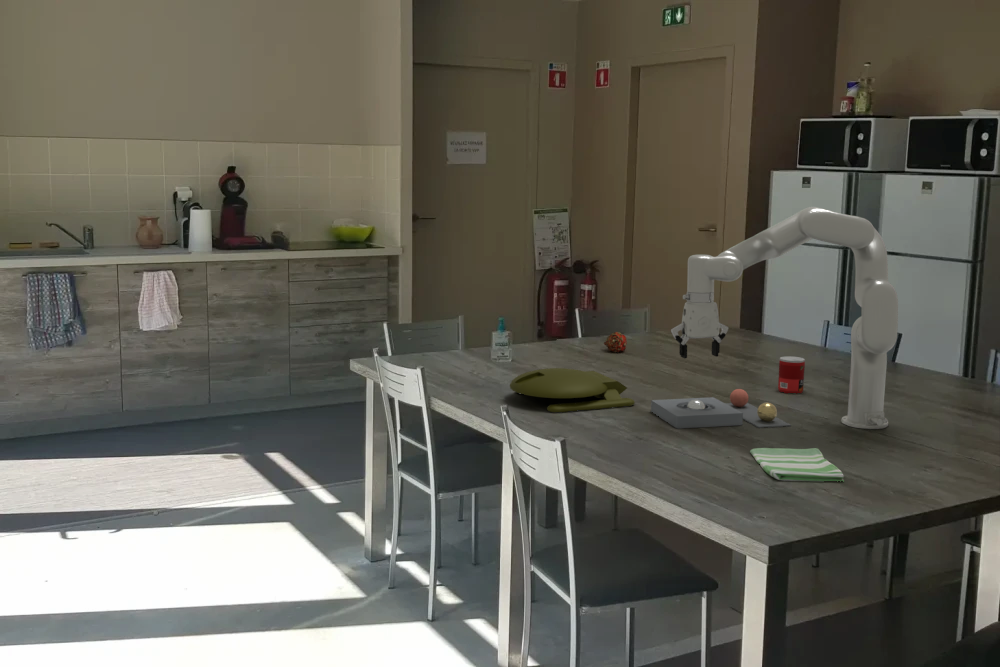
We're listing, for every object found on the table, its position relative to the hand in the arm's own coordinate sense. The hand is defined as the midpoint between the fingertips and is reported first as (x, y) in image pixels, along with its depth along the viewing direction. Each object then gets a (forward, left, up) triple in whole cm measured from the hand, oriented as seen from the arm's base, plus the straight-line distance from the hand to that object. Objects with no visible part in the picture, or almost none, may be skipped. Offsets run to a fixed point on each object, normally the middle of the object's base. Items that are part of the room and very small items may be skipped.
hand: (699, 356), depth 294 cm
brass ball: (-9, -18, -15) cm, 25 cm away
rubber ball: (+9, -18, -15) cm, 25 cm away
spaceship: (+30, +31, -19) cm, 48 cm away
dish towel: (-50, -4, -19) cm, 54 cm away
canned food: (+27, -45, -19) cm, 55 cm away
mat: (0, -18, -18) cm, 25 cm away
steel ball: (0, 0, -16) cm, 16 cm away
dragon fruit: (+106, -12, -19) cm, 108 cm away
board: (0, 0, -18) cm, 18 cm away
